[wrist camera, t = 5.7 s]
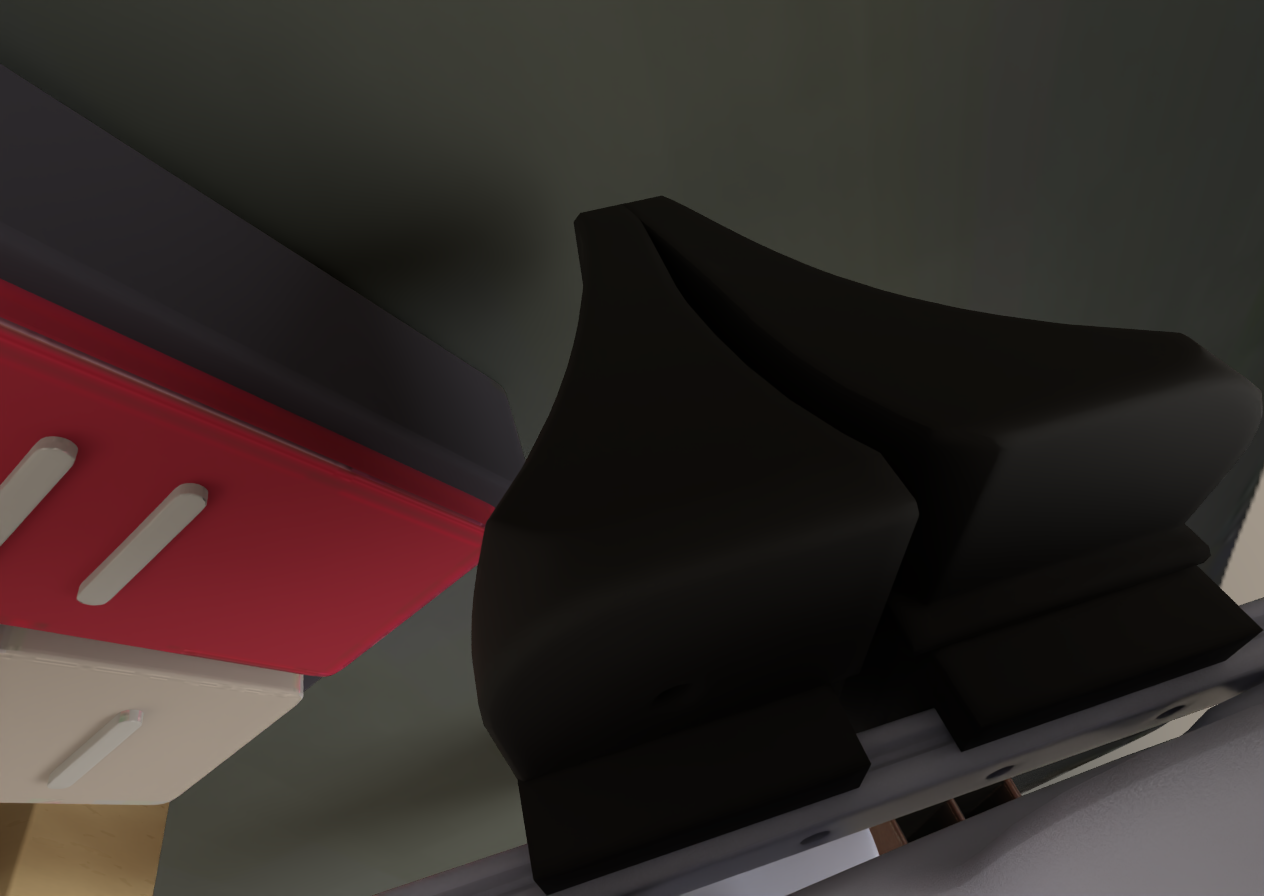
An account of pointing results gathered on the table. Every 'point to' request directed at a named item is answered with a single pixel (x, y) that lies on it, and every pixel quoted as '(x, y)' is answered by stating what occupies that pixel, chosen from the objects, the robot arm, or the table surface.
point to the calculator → (200, 469)
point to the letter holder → (941, 815)
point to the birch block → (80, 849)
